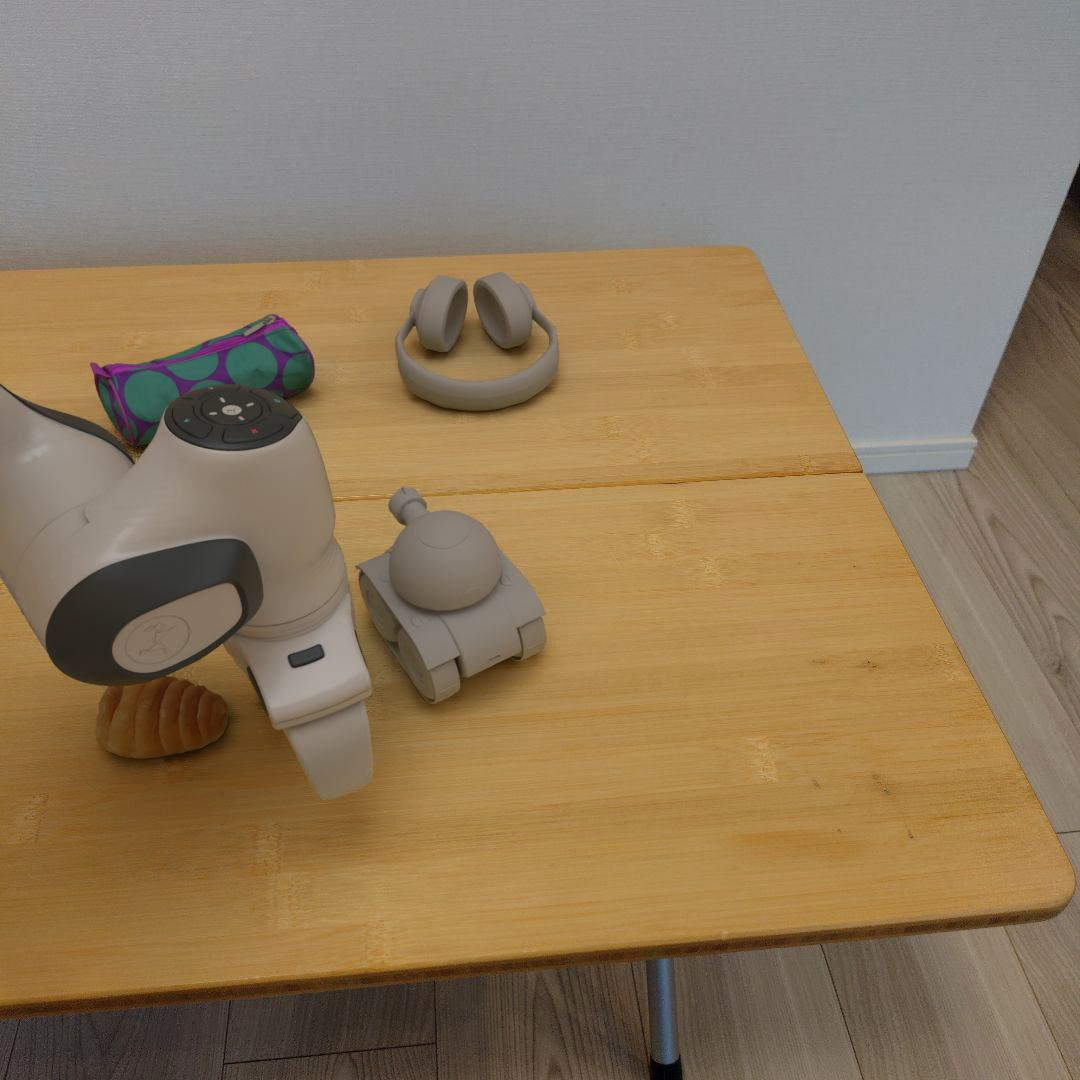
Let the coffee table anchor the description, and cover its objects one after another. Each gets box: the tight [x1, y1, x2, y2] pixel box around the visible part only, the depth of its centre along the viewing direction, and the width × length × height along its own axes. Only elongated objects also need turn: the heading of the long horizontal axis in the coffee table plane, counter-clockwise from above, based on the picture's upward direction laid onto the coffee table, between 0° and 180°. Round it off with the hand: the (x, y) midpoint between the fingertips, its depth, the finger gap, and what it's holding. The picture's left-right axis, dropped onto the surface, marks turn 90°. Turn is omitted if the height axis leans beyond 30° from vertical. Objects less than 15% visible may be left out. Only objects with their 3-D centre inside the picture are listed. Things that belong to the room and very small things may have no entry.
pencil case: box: [89, 313, 316, 448], centre depth 99 cm, size 21×9×10 cm, turn 126°
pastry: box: [95, 675, 229, 760], centre depth 73 cm, size 9×7×4 cm
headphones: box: [394, 271, 560, 412], centre depth 108 cm, size 18×8×20 cm
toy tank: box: [354, 485, 547, 705], centre depth 76 cm, size 15×11×13 cm
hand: (316, 725), depth 72 cm, fingers closed
